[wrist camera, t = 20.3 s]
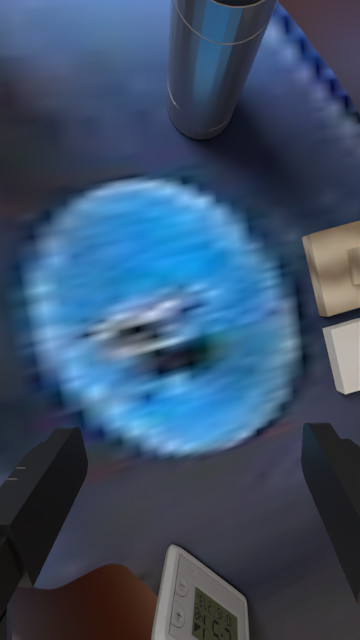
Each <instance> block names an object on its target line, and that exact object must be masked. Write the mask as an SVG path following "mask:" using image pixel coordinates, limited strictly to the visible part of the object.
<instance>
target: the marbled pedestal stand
mask: <svg viewBox="0 0 360 640" xmlns="http://www.w3.org/2000/svg"><path fill="white" fill-rule="evenodd" d="M302 240H303V245H304V249H305V254H306V258H307V262H308V267H309V271H310V276H311V280H312V284H313V289H314V293H315V298H316V302H317V306H318V311H319V315H320V316H327V317H328V316H332V315H335V314H339V313H342V312H345V311H349V310H352V309H356V308H359V307H360V221H356V222H352V223H349V224H345V225H341V226H338V227H334V228H330V229H326V230H323V231H319V232H315V233H312V234H309V235H306V236H304V237H302Z"/></svg>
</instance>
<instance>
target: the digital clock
mask: <svg viewBox="0 0 360 640" xmlns="http://www.w3.org/2000/svg"><path fill="white" fill-rule="evenodd" d="M152 640H249V627H248V609H247V602H246V599H245V597H244V596H243V595H242V594H241V593H239V592H238V591H237V590H236V589H234V588H233V587H232V586H231V585H229V584H228V583H227V582H225V581H224V580H223V579H221V578H220V577H219V576H218V575H216V574H215V573H214V572H212V571H211V570H210V569H208V568H207V567H206V566H204V565H203V564H202V563H201V562H199V561H198V560H197V559H195V558H194V557H193V556H191V555H190V554H189V553H187V552H186V551H185V550H183V549H182V548H180V547H178V546H176V545H174V544H172V545H170V546H169V548H168V550H167V553H166V558H165V563H164V568H163V574H162V579H161V585H160V590H159V596H158V601H157V607H156V612H155V618H154V623H153V630H152Z"/></svg>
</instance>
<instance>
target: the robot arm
mask: <svg viewBox="0 0 360 640" xmlns="http://www.w3.org/2000/svg"><path fill="white" fill-rule="evenodd" d="M277 1H278V0H171V11H170V35H169V59H168V79H167V110H168V114H169V117H170V119H171V121H172V123H173V124H174V126H175V127H176V128H177V129H178V130H179V131H180V132H181V133H183V134H184V135H186V136H188V137H190V138H193V139H200V140H203V139H209V138H212V137H215V136H217V135H218V134H220V133H221V132H222V131H223V130H224V129H225V128H226V126H227V125H228V123H229V122H230V119H231V117H232V114H233V112H234V109H235V107H236V104H237V102H238V99H239V97H240V94H241V92H242V89H243V87H244V84H245V82H246V79H247V77H248V74H249V72H250V69H251V67H252V64H253V62H254V59H255V57H256V54H257V51H258V49H259V46H260V44H261V41H262V39H263V36H264V34H265V31H266V29H267V26H268V24H269V21H270V19H271V16H272V14H273V11H274V8H275V6H276V3H277ZM301 463H302V470H303V474H304V477H305V480H306V483H307V485H308V487H309V490H310V492H311V495H312V497H313V499H314V502H315V504H316V506H317V509H318V511H319V514H320V516H321V518H322V521H323V523H324V526H325V528H326V530H327V533H328V535H329V537H330V540H331V542H332V545H333V547H334V549H335V552H336V554H337V556H338V559H339V561H340V564H341V566H342V568H343V571H344V573H345V575H346V578H347V580H348V583H349V585H350V587H351V590H352V592H353V594H354V597H355V599H356V602H357V603H360V447H359V446H358V445H357V444H355V443H354V442H353V441H351V440H350V439H340V437H339V436H338V434H337V433H336V432H335V430H334V429H333V427H332V426H331V425H330V424H329V423H305V424H304V426H303V439H302V456H301ZM87 469H88V460H87V455H86V451H85V446H84V442H83V438H82V433H81V430H80V428H79V427H58V428H56V429H55V430H54V431H53V432H52V434H51V435H50V436H49V438H48V439H47V440H46V442H41V443H40V444H39V445H37V446H36V447H35V448H33V449H32V450H31V451H30V452H28V453H27V454H26V455H25V457H24V458H23V459H22V460H21V462H20V463H19V464H18V465H17V468H16V469H14V470H13V472H12V473H11V474H10V475H9V477H8V480H5V482H4V483H3V484H2V485H1V487H0V640H12V614H11V603H10V599H11V597H12V595H13V593H14V591H15V589H16V588H17V587H33V586H34V584H35V582H36V580H37V578H38V576H39V573H40V571H41V569H42V567H43V565H44V563H45V561H46V559H47V557H48V555H49V553H50V551H51V548H52V546H53V544H54V542H55V540H56V538H57V536H58V534H59V532H60V530H61V528H62V526H63V523H64V521H65V519H66V517H67V515H68V513H69V511H70V509H71V507H72V505H73V503H74V501H75V498H76V496H77V494H78V492H79V490H80V488H81V486H82V484H83V482H84V480H85V477H86V474H87Z"/></svg>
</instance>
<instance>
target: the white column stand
mask: <svg viewBox="0 0 360 640" xmlns="http://www.w3.org/2000/svg"><path fill="white" fill-rule="evenodd" d="M323 333H324V337H325V342H326V346H327V351H328V355H329V359H330V364H331V368H332V373H333V377H334V381H335V386H336V390H337V391H339V392H341V393H343V394H345V395H346V394H349V393H352V392H355V391H359V390H360V318H357V319H353V320H350V321H346V322H343V323H340V324H336V325H333V326H329V327H326V328H323Z"/></svg>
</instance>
